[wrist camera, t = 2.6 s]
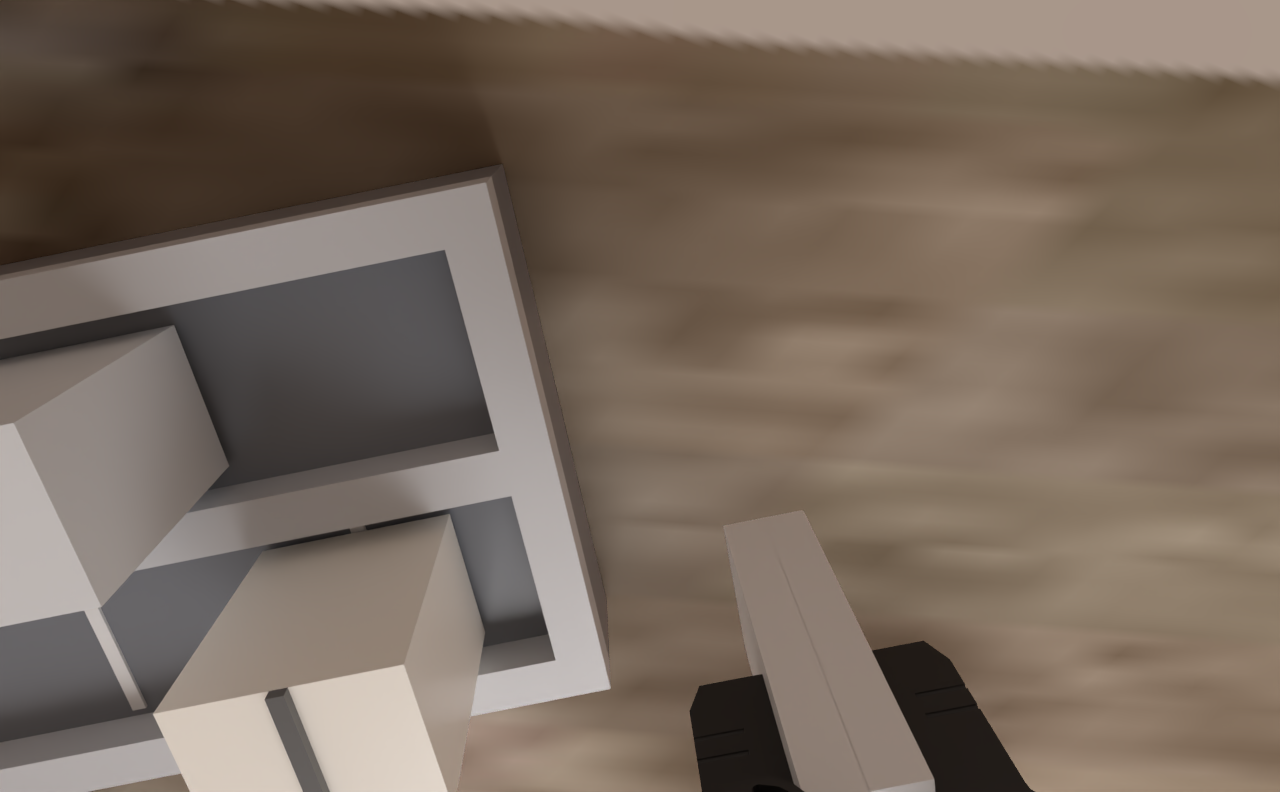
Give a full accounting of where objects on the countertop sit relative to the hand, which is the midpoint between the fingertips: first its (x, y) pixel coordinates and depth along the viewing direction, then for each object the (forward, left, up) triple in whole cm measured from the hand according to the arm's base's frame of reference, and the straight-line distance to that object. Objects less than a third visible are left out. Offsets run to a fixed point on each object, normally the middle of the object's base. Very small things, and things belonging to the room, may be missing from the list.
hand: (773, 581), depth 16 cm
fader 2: (-8, 0, -3) cm, 9 cm away
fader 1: (-12, +5, -3) cm, 13 cm away
